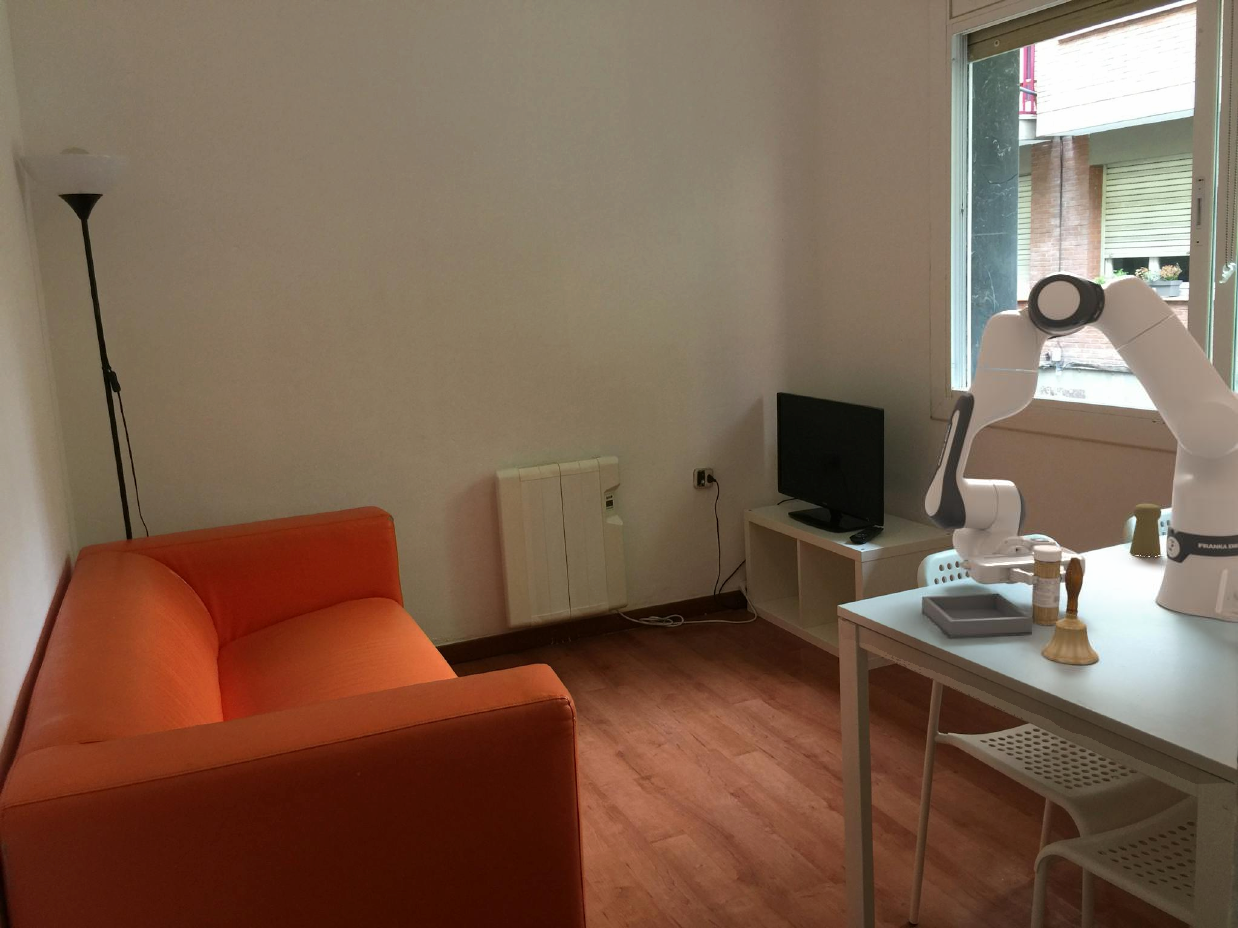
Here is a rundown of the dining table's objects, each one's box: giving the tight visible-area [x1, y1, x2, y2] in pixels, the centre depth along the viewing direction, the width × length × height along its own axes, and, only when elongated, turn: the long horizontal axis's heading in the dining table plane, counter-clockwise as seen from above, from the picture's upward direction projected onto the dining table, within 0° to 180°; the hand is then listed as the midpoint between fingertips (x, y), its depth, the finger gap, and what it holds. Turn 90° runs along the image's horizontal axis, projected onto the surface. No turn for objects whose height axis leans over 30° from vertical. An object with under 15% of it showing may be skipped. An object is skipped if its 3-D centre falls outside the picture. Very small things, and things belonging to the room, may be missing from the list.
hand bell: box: [1041, 557, 1100, 666], centre depth 154 cm, size 8×8×16 cm
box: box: [921, 592, 1034, 640], centre depth 171 cm, size 14×14×3 cm
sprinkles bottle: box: [1031, 545, 1062, 626], centre depth 170 cm, size 5×5×13 cm
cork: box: [1129, 503, 1162, 558], centre depth 211 cm, size 6×6×11 cm
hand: (1049, 579), depth 169 cm, fingers closed on sprinkles bottle, 4 cm apart
